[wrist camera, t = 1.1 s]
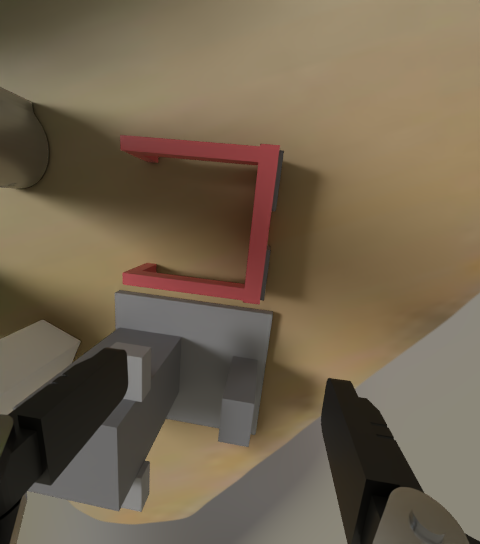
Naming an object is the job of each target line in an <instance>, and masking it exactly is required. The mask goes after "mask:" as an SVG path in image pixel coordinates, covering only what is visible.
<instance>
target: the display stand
mask: <svg viewBox="0 0 480 544" xmlns="http://www.w3.org/2000/svg"><path fill="white" fill-rule="evenodd" d="M272 316H273V311H267V310H259V309H252V308H245V307H238V306H230V305H223V304H216V303H209V302H202V301H194V300H187V299H180V298H173V297H166V296H158V295H151V294H144V293H137V292H129V291H122V290H119V291H117V292H115V320H116V330H115V331H114V332H113V333H111V334H110V335H109V336H107V337H106V338H105V339H103V340H102V341H101V342H99V343H98V344H97V345H95V346H94V347H93V348H91V349H90V350H89V351H87V352H86V353H85V354H83V355H82V356H81V357H79V358H78V359H77V360H75V361H74V362H73V363H72V364H70V365H69V366H68V367H66V368H65V369H64V370H62V371H61V372H60V373H58V374H57V375H56V376H54V377H53V378H52V379H50V380H49V381H48V382H46V383H45V384H44V385H42V386H41V387H40V388H38V389H37V390H36V391H34V392H33V393H32V394H30V395H29V396H28V397H26V398H25V399H24V400H23V401H21V402H20V403H19V404H17V405H16V406H15V407H13V410H15V409H16V408H17V407H19V406H20V405H21V404H23V403H24V402H25V401H27V400H28V399H29V398H31V397H32V396H33V395H35V394H36V393H37V392H39V391H40V390H42V389H43V388H44V387H46V386H47V385H48V384H51V383H52V381H54V380H55V379H56V378H58V377H59V376H62V374H63V373H64V372H66V371H67V370H69V369H70V368H71V367H73V366H74V365H76V364H78V363H80V362H82V361H84V360H87V359H89V358H92V357H93V356H94V355H95V354H97V353H98V352H99V351H101V350H102V349H103V348H106V347H108V348H115V349H123V350H125V351H126V353H127V363H128V389H127V392H126V394H125V396H124V398H123V399H122V401H121V402H120V403H119V404H118V406H117V407H116V408H115V409H114V410H113V412H112V413H111V414H110V415H109V416H108V418H107V419H106V420H105V421H104V422H103V424H102V425H101V426H100V427H99V428H98V430H97V431H96V432H95V433H94V435H93V436H92V437H91V438H90V439H89V441H88V442H87V443H86V444H85V445H84V447H83V448H82V449H81V450H80V451H79V453H78V454H77V455H76V456H75V457H74V459H73V460H72V461H71V462H70V463H69V465H68V466H67V467H66V468H65V469H64V471H63V472H62V473H61V474H60V475H59V477H58V478H57V479H56V480H55V482H54V483H53V484H52V485H51V486H49V485H45V484H40V483H34V484H33V485H32V486H31V487H30V488H29V490H28V491H30V492H34V493H39V494H43V495H48V496H52V497H57V498H61V499H66V500H70V501H75V502H79V503H84V504H88V505H93V506H97V507H102V508H106V509H111V510H115V511H119V510H120V508H121V507H122V508H126V509H131V510H135V511H140V512H142V509H143V507H144V505H145V502H146V500H147V498H148V495H149V472H150V462H149V461H145V459H146V457H147V455H148V453H149V451H150V449H151V447H152V445H153V443H154V441H155V439H156V437H157V435H158V433H159V431H160V429H161V427H162V425H163V423H164V421H165V419H171V420H176V421H182V422H187V423H193V424H198V425H204V426H209V427H214V428H219V438H218V441H219V442H224V443H230V444H235V445H240V446H245V447H249V440H250V434H253V435H255V434H256V427H257V420H258V413H259V406H260V399H261V392H262V385H263V379H264V372H265V365H266V358H267V351H268V344H269V337H270V330H271V323H272Z"/></svg>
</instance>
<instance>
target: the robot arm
mask: <svg viewBox="0 0 480 544" xmlns="http://www.w3.org/2000/svg"><path fill="white" fill-rule="evenodd" d="M48 158H49V149H48V142H47V138H46V134H45V132H44V130H43V128H42V125H41V124H40V122H39V121H38V119H37V118H36V116H35V115H34V112H33V107H32V102H31V101H29V100H27V99H25V98H23V97H20V96H18V95H16V94H14V93H12V92H10V91H8V90H6V89H4V88H2V87H0V187H3V188H5V187H6V188H16V189H19V188H27V187H30V186H32V185H34V184H35V183H37V182H38V181H39V180H40V179H41V178H42V176H43V174H44V172H45V171H46V168H47V164H48ZM127 389H128V363H127V353H126V351H125V350H123V349H115V348H108V347H106V348H103V349H102V350H101V351H99V352H98V353H97V354H95V355H94V356H93V357H92V358H89V359H87V360H84V361H82V362H80V363H78V364H76V365H74V366H73V367H71V368H70V369H69V370H67V371H66V372H64V373H63V374H62V376H59V377H58V378H56V379H55V380H54V381H52V383H51V384H48V385H47V386H46V387H44V388H43V389H42V390H40V391H39V392H37V393H36V394H35V395H33V396H32V397H31V398H29V399H28V400H27V401H25V402H24V403H23V404H21V405H20V406H19V407H17V408H16V409H15V410H13V411H12V412H11V413H9V414H8V415H4V414H0V544H16V543H17V539H18V535H19V531H20V527H21V523H22V518H23V515H24V510H25V506H26V502H27V491H28V490H29V488H30V487H31V486H32V485H33V484H34V483H40V484H45V485H49V486H51V485H52V484H53V483H54V482H55V480H56V479H57V478H58V477H59V475H60V474H61V473H62V472H63V471H64V469H65V468H66V467H67V466H68V465H69V463H70V462H71V461H72V460H73V459H74V457H75V456H76V455H77V454H78V453H79V451H80V450H81V449H82V448H83V447H84V445H85V444H86V443H87V442H88V441H89V439H90V438H91V437H92V436H93V435H94V433H95V432H96V431H97V430H98V428H99V427H100V426H101V425H102V424H103V422H104V421H105V420H106V419H107V418H108V416H109V415H110V414H111V413H112V412H113V410H114V409H115V408H116V407H117V406H118V404H119V403H120V402H121V401H122V399H123V398H124V396H125V394H126V392H127ZM321 426H322V433H323V438H324V442H325V446H326V451H327V455H328V460H329V464H330V468H331V473H332V477H333V482H334V486H335V490H336V494H337V499H338V504H339V508H340V512H341V517H342V521H343V526H344V530H345V534H346V539H347V543H348V544H480V541H478V540H476V539H474V538H472V537H470V536H468V535H467V534H465V533H464V531H463V530H462V528H461V526H460V525H459V524H458V522H457V521H456V520H455V519H454V517H453V516H452V515H451V514H450V513H449V512H448V511H447V510H446V509H445V508H444V507H443V506H442V505H441V504H439V503H438V502H437V501H436V500H434V499H433V498H432V497H430V496H428V495H427V494H425V493H424V492H423V490H422V488H421V486H420V484H419V483H418V481H417V479H416V477H415V475H414V473H413V472H412V470H411V468H410V466H409V464H408V462H407V461H406V459H405V457H404V455H403V453H402V451H401V450H400V448H399V446H398V444H397V442H396V441H395V440H394V437H393V435H392V433H391V431H390V430H389V428H387V424H386V422H385V420H384V419H383V417H382V415H381V413H380V411H379V410H378V409H377V408H376V407H375V406H374V405H373V404H372V403H371V402H370V401H369V400H368V399H366V398H360V397H358V395H357V393H356V391H355V389H354V387H353V385H352V383H351V381H346V380H339V379H332V378H328V380H327V383H326V389H325V395H324V401H323V407H322V414H321Z"/></svg>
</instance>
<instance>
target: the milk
mask: <svg viewBox="0 0 480 544" xmlns="http://www.w3.org/2000/svg"><path fill="white" fill-rule="evenodd" d="M80 342H81V341H80V340H78V339H76V338H75V337H73V336H71V335H69V334H68V333H66V332H64V331H62V330H60V329H59V328H57V327H55V326H53V325H52V324H50V323H48V322H46V321H45V320H40V321H38V322H36V323H34V324H31V325H29V326H27V327H25V328H23V329H21V330H18V331H16V332H14V333H12V334H10V335H8V336H5V337H3V338H1V339H0V414H4V415H8V414H9V413H11V412H12V411H13V407H15V406H16V405H17V404H19V403H20V402H21V401H23V400H24V399H25V398H26V397H28V396H29V395H30V394H32V393H33V392H34V391H36V390H37V389H38V388H40V387H41V386H42V385H44V384H45V383H46V382H48V381H49V380H50V379H52V378H53V377H54V376H56V375H57V374H58V373H60V372H61V371H62V370H64V369H65V368H66V367H68V366H69V365H70V364H72V361H73V359H74V357H75V354H76V352H77V349H78V347H79V345H80Z"/></svg>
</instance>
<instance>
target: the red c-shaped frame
mask: <svg viewBox="0 0 480 544" xmlns="http://www.w3.org/2000/svg"><path fill="white" fill-rule="evenodd" d="M120 149H121V150H122V151H124V152H126V153H128V154H131V155H133V156H135V157H137V158H140V159H142V160H144V161H146V162H153V163H158V157H168V158H179V159H190V160H201V161H213V162H224V163H235V164H247V165H258V171H257V180H256V189H255V198H254V207H253V216H252V225H251V234H250V243H249V252H248V261H247V270H246V279H245V284H241V283H233V282H225V281H217V280H209V279H202V278H194V277H186V276H178V275H170V274H163V273H156V264H151V263H146V264H143V265H141V266H138V267H136V268H133V269H131V270H128V271H126V272H123V284H124V285H132V286H139V287H147V288H154V289H162V290H169V291H177V292H184V293H192V294H199V295H207V296H214V297H222V298H229V299H237V300H243V302H244V303H252V304H260V300H263V301H264V296H265V289H266V281H267V274H268V266H269V259H270V251H271V250H270V246H268V245H267V242H268V234H269V226H270V219H271V211H274V212H275V211H276V206H277V198H278V191H279V183H280V176H281V168H282V161H283V153H284V151H282V150H279V149H280V145H268V144H260V146H248V145H236V144H223V143H211V142H199V141H187V140H175V139H163V138H150V137H138V136H126V135H120Z"/></svg>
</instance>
